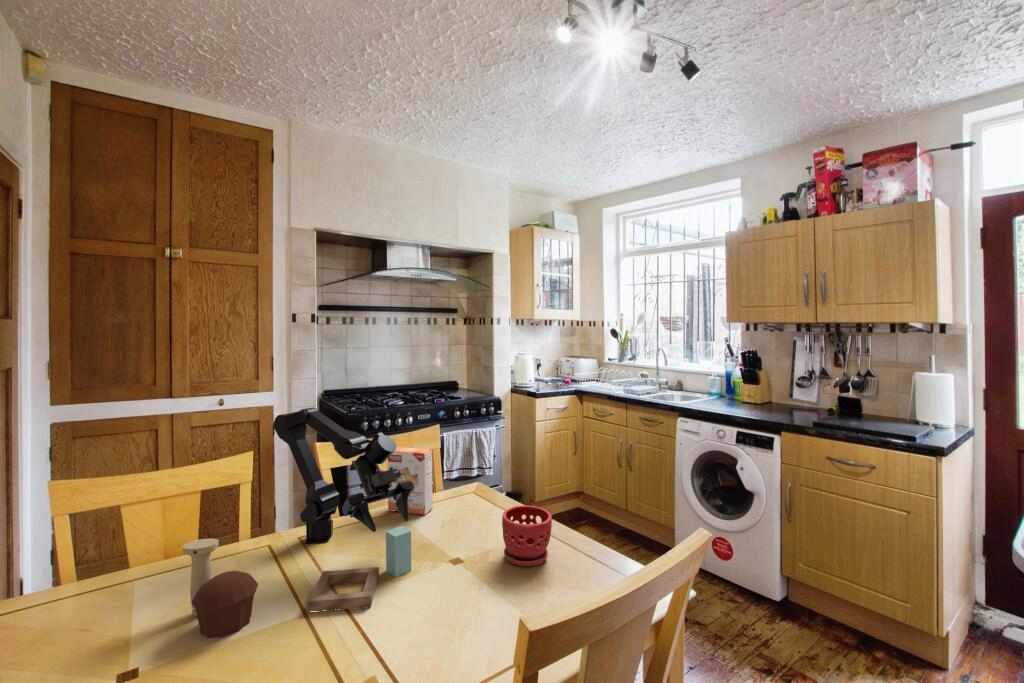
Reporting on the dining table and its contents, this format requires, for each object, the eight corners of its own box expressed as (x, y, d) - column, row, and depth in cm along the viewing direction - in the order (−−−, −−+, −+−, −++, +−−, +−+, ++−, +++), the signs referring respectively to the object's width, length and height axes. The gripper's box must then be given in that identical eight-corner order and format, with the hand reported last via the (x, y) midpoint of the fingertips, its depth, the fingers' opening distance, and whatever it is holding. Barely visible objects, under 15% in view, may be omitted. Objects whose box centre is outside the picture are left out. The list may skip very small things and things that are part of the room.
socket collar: (307, 613, 99) (307, 601, 99) (323, 581, 112) (323, 571, 112) (370, 607, 101) (370, 596, 101) (379, 577, 114) (378, 567, 114)
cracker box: (387, 512, 157) (386, 450, 157) (396, 505, 163) (396, 446, 162) (424, 516, 153) (424, 452, 153) (433, 509, 159) (432, 448, 158)
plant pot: (496, 568, 118) (496, 521, 118) (509, 545, 131) (508, 503, 131) (547, 574, 115) (547, 525, 115) (555, 550, 128) (555, 506, 128)
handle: (212, 618, 98) (211, 547, 97) (179, 621, 97) (178, 549, 97) (223, 605, 102) (222, 537, 102) (191, 608, 101) (190, 539, 101)
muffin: (240, 602, 103) (239, 558, 103) (269, 617, 98) (269, 570, 98) (180, 631, 93) (179, 582, 93) (209, 650, 88) (208, 597, 88)
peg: (386, 570, 117) (385, 531, 117) (401, 564, 120) (401, 526, 120) (395, 577, 114) (395, 536, 114) (411, 570, 117) (411, 531, 117)
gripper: (346, 464, 117) (368, 520, 109) (410, 451, 130) (434, 500, 122) (333, 488, 123) (353, 543, 115) (396, 473, 136) (418, 521, 128)
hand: (391, 526), depth 120 cm, fingers open, 9 cm apart
